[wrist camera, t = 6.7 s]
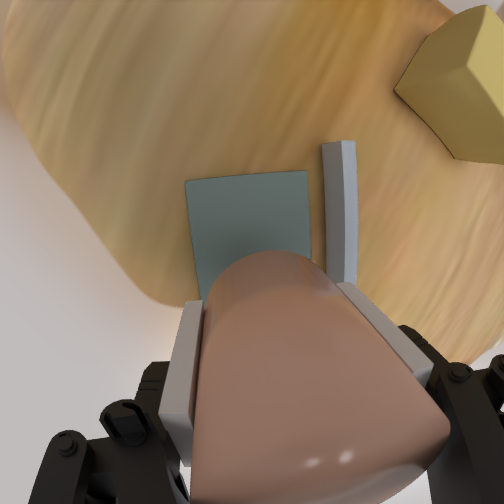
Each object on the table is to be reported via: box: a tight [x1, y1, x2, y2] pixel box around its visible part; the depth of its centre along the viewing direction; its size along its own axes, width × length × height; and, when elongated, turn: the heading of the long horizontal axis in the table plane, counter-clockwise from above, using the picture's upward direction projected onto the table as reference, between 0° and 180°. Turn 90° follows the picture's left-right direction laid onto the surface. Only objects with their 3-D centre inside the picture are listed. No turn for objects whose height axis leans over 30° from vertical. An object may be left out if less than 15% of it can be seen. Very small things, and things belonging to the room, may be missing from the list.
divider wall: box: [322, 140, 358, 286], centre depth 21 cm, size 16×1×4 cm, turn 5°
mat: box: [185, 171, 311, 310], centre depth 22 cm, size 12×9×1 cm
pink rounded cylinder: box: [190, 250, 450, 504], centre depth 9 cm, size 6×6×9 cm
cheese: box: [394, 5, 504, 165], centre depth 15 cm, size 10×11×10 cm
